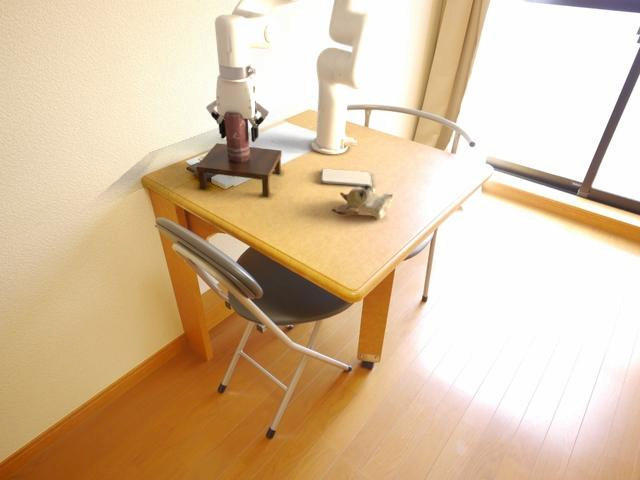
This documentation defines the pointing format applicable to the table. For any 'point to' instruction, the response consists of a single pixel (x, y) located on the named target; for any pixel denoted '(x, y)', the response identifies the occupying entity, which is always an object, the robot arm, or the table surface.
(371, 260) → the table surface
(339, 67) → the robot arm
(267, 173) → the side table
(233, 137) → the can
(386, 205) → the ceramic sculpture
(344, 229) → the table surface
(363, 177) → the smartphone
